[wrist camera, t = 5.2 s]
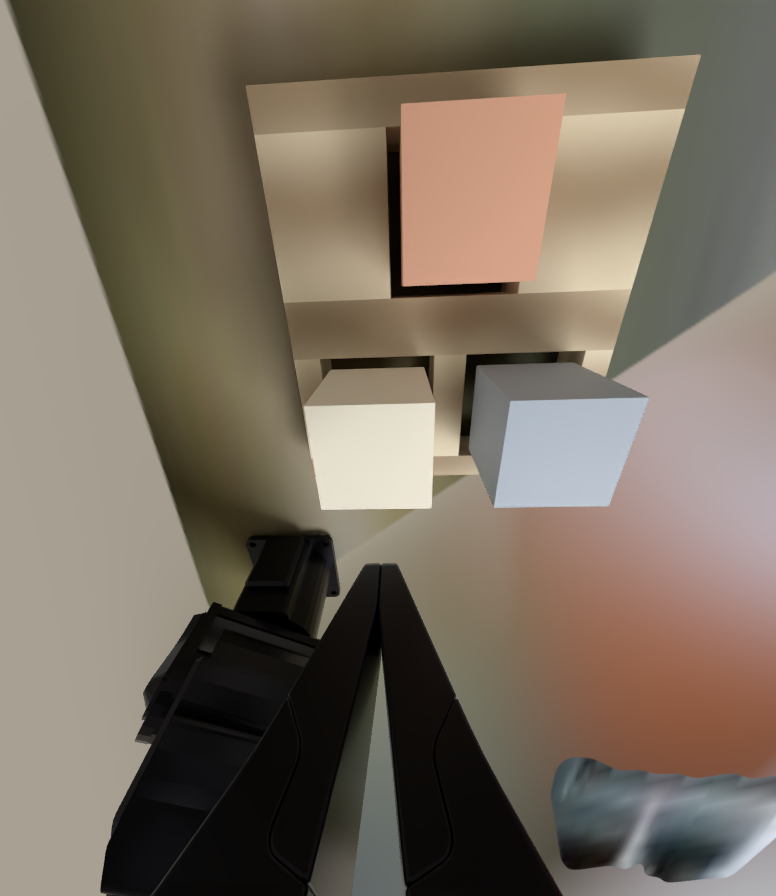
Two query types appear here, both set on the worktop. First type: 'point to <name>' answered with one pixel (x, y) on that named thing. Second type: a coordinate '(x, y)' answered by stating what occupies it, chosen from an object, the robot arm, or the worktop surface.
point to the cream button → (373, 438)
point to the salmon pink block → (476, 187)
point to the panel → (467, 314)
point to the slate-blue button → (551, 433)
